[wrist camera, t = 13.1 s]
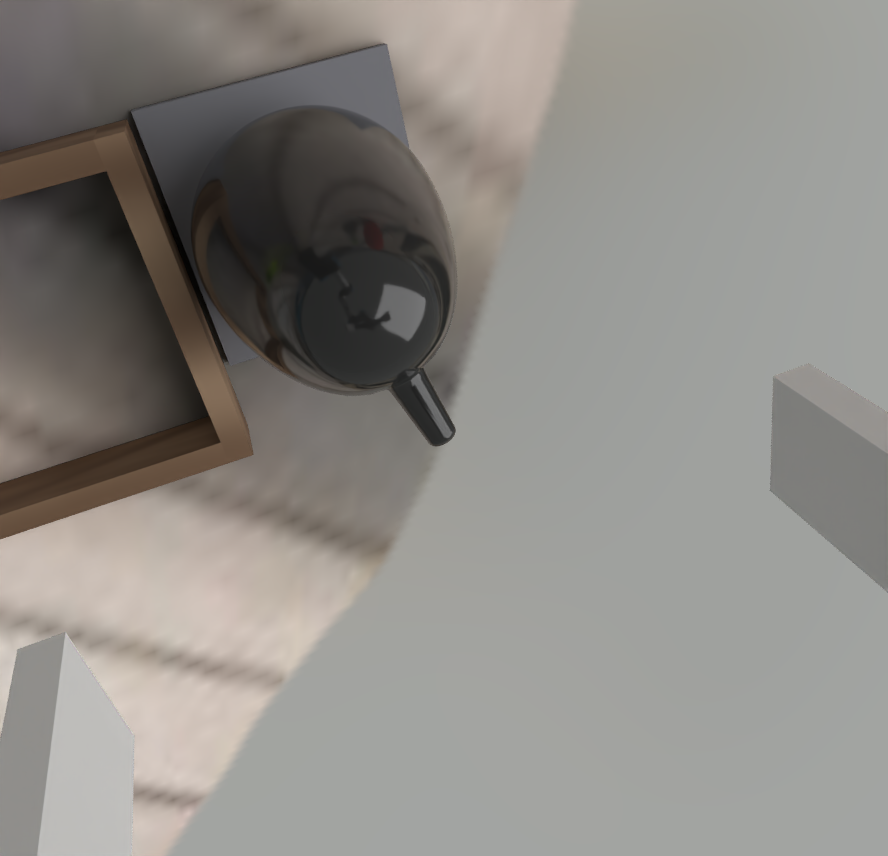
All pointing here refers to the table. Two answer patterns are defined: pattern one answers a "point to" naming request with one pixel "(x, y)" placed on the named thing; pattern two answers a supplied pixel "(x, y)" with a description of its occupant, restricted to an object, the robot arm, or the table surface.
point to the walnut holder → (225, 427)
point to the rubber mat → (235, 105)
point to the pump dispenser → (330, 256)
